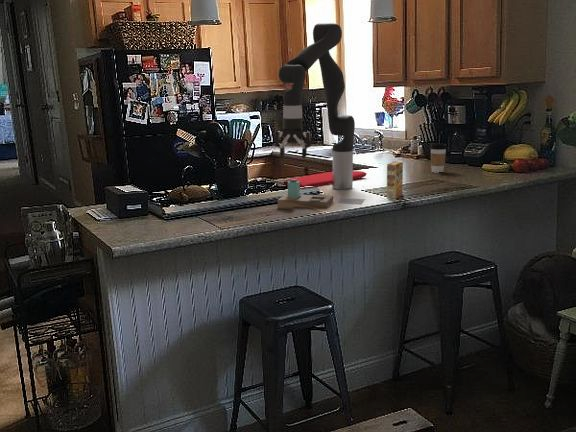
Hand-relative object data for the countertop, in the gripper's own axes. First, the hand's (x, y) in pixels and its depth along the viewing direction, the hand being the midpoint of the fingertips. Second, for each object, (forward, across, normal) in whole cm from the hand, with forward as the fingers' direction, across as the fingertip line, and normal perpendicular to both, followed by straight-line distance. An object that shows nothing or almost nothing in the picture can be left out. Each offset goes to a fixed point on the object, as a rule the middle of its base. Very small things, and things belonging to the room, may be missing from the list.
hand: (293, 157), depth 255 cm
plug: (+20, 0, 0) cm, 20 cm away
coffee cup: (+20, -52, -93) cm, 108 cm away
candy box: (+20, -38, -23) cm, 49 cm away
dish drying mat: (+21, -1, -56) cm, 59 cm away
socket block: (+20, -5, 0) cm, 20 cm away
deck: (+20, -22, -9) cm, 31 cm away
